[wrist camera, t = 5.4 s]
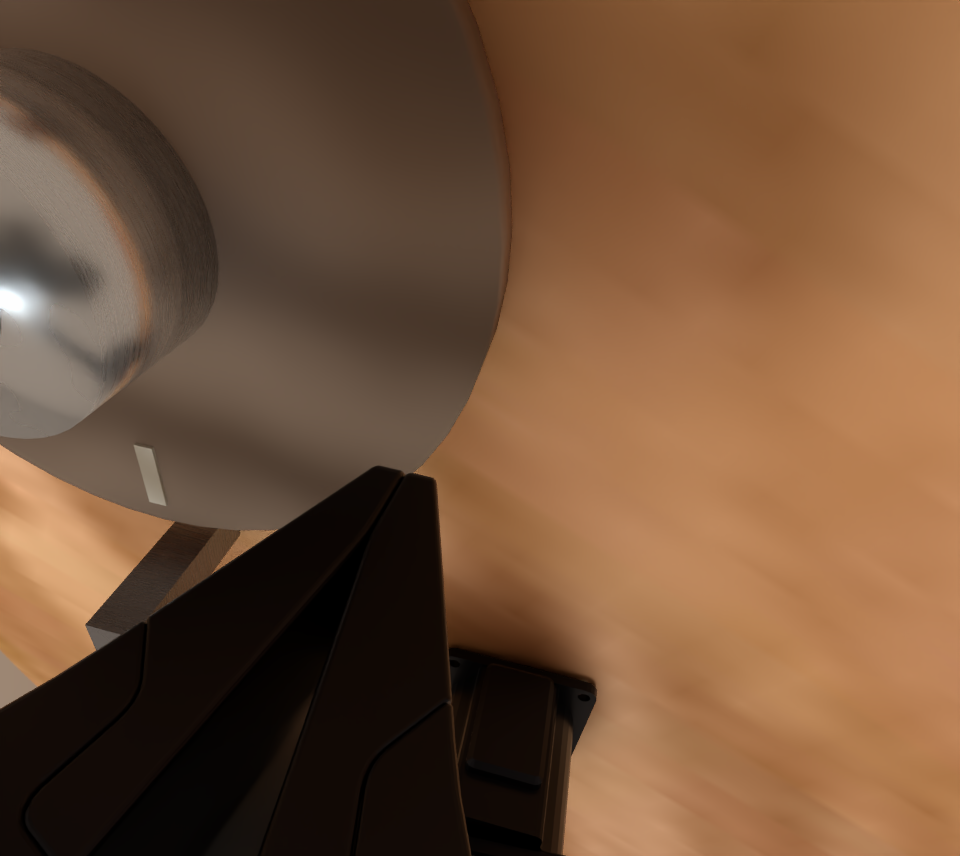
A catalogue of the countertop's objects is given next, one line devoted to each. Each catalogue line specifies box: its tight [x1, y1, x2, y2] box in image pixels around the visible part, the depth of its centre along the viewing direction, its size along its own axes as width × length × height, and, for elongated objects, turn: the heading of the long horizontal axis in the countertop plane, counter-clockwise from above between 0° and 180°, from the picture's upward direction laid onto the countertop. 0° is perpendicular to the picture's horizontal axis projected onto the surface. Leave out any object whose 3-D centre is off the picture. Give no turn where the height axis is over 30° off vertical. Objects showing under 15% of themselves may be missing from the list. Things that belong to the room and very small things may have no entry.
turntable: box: [0, 0, 512, 530], centre depth 14 cm, size 20×20×5 cm
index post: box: [85, 521, 240, 650], centre depth 22 cm, size 2×2×6 cm
